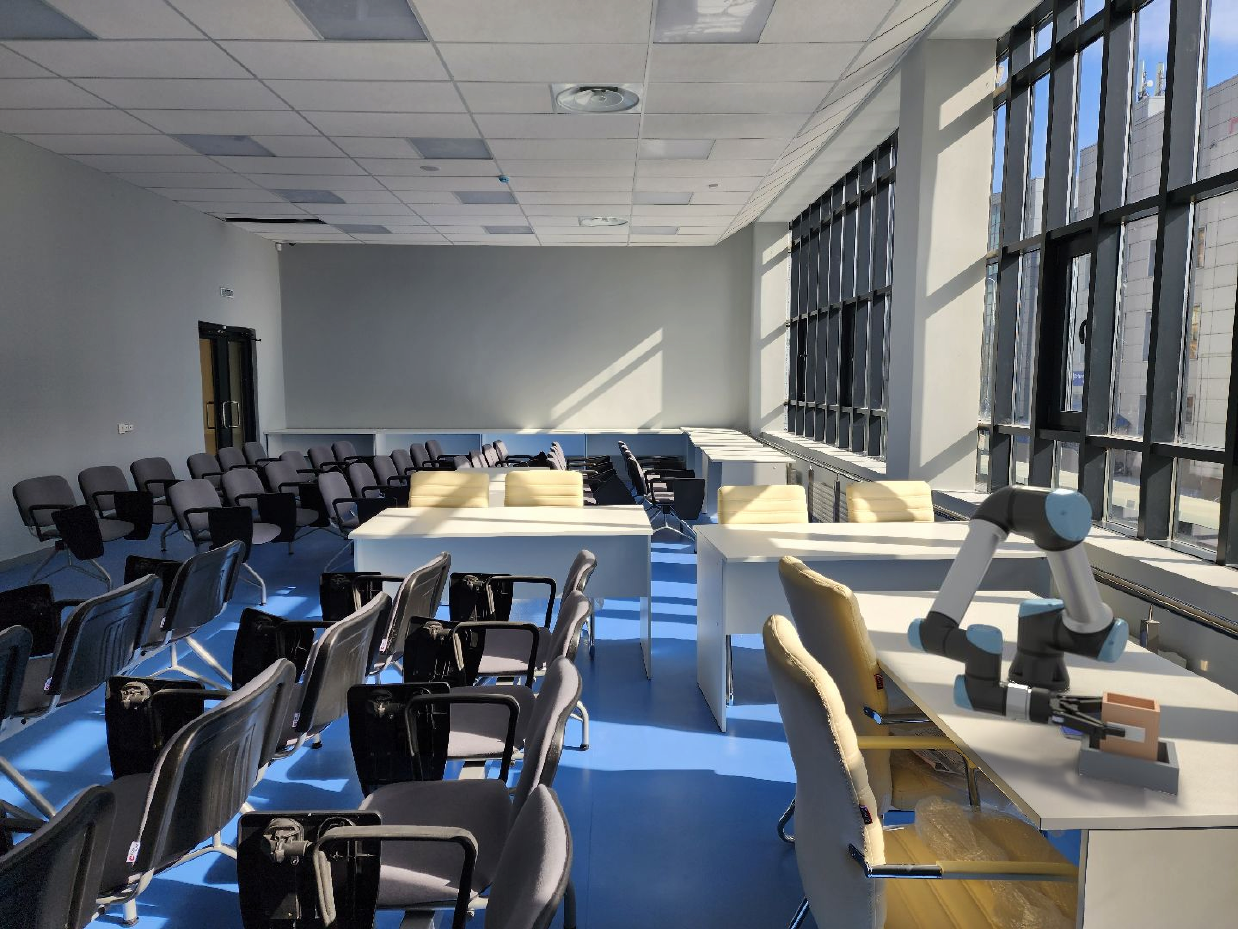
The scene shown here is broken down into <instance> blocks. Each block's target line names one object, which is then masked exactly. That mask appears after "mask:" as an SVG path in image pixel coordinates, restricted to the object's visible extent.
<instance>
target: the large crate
mask: <svg viewBox="0 0 1238 929" xmlns="http://www.w3.org/2000/svg"><path fill="white" fill-rule="evenodd" d="M1099 746H1100V739H1099V738H1096V737H1093V736H1090V735H1087V734H1084V733H1082V736H1081V739H1080V749H1079V763H1078V765H1079V766H1078V775H1080V774H1081V775H1080V776H1084V775H1085V777H1089V776H1090V778H1093V777H1094V779H1098V780H1099V779H1100V780H1103V779H1104V781H1107V780H1108V782H1113V783H1117V784H1122V785H1126V786H1127V785H1128V786H1130V785H1132V786H1131V787H1135V788H1141V789H1144V788H1146V789H1145V790H1150V791H1154V792H1158V791H1161V792H1160V793H1163V792H1166V793H1165V794H1167V793H1169V794H1168V795H1172V794H1174V795H1173V796H1176V795H1177V796H1178V795H1179V794H1178V792H1179V781H1180V779H1179V778H1180V765H1179V760H1178V753H1177V749H1176V742H1175V741H1170V740H1167V739H1160V738H1158V750H1157V761H1152V760H1147V759H1142V758H1137V757H1132V756H1127V755H1122V754H1117V753H1112V752H1107V751H1103V750H1099Z"/></svg>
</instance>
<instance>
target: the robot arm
mask: <svg viewBox="0 0 1238 929" xmlns="http://www.w3.org/2000/svg"><path fill="white" fill-rule="evenodd" d="M1092 517H1093V511H1092V507H1091V504H1090V502H1089V500H1088V499H1087V498H1086V496H1084V495H1083V494H1082V493H1081V492H1079V491H1077V490H1076V491H1075V490H1070V489H1066V488H1063V487H1061V488H1056V487H1055V488H1054V487H1043V486H1035V485H1034V486H1032V485H1025V484H1012V485H1011V484H1009V485H1007V486H1004V487H1001V488H999V489H997V490H996V491H994V492H993V493H991V494H990V495H988V496H987V497H986V498H985V499H984V500H982V502H981V503H980V504H979V505H978V506H977V508H976V509H975V511H973V513H972V515H971V517H970V518H969V521H968V522H967V527H968V529H969V530H968V532H967V534H966V536H965V538H964V541H963V542H962V544H961V547H960V548H959V551H958V552H957V554H956V556H955V558H954V560H953V562H952V565H951V567H950V568H949V570H948V572H947V575H946V576H945V578H944V580H943V582H942V585H941V587H940V589H939V591H938V592H937V595H936V596H935V599H934V601H933V602H932V605H931V607H930V609H929V611H928V612H927V614H926V617H925V618H924V617H917V618H914V620H913V621H911V622H910V624H909V625H908V628H907V633H906V634H907V640H908V643H909V645H910V646H911V647H912V648H914V649H916V650H919V651H921V652H924V653H926V654H932V655H934V656H939V657H942V658H945V659H948V660H951V661H955V662H958V663H961V664H964V673H963V674H961V673H960V674H959V673H958V674H957V675H956V676H955V679H954V685H953V693H952V694H953V696H952V697H953V703H954V705H955V706H956V707H958V708H961V709H965V710H970V711H973V712H976V713H977V712H978V713H985V714H989V715H993V716H1001V717H1006V718H1011V720H1012V721H1016V720H1022V721H1026V720H1027V719H1029V721H1030V722H1031V723H1037V724H1042V725H1048V724H1049V721H1050V718H1052V724H1053V725H1056V726H1059V725H1060V726H1064V727H1067V728H1070V729H1073V730H1076V731H1079V732H1082V733H1084V734H1087V735H1090V736H1093V737H1096V738H1099V739H1102V740H1106V734H1107V736H1111V737H1116V738H1122V739H1127V740H1132V741H1137V742H1143V743H1144V740H1145V728H1140V727H1134V726H1129V725H1123V724H1118V723H1112V722H1107V724H1106V723H1104V722H1101V720H1099V719H1097V718H1094V717H1092V716H1090V715H1087V714H1093V713H1094V714H1095V713H1102V699H1103V695H1101V696H1100V695H1097V696H1095V695H1075V694H1073V695H1072V694H1070V695H1069V694H1062V693H1056V694H1055V698H1053V697H1051V692H1050V691H1058V692H1060V691H1059V690H1065V689H1067V688H1068V687H1069V688H1070V687H1071V686H1070V684H1071V678H1070V675H1069V671H1068V668H1067V665H1066V661H1065V653H1067V654H1072V655H1074V656H1077V657H1082V658H1086V659H1089V660H1092V661H1096V662H1102V663H1107V664H1113V663H1116V662H1117V661H1119V660H1120V658H1121V657H1122V656H1123V653H1124V652H1125V650H1126V647H1127V644H1128V641H1129V632H1130V631H1129V624H1128V622H1127V621H1126V620H1124V619H1121V618H1116V617H1115V616H1114V613H1113V610H1112V608H1111V607H1110V606H1109V604H1107V603H1105V602H1103V600H1102V598H1101V595H1100V592H1099V588H1098V585H1097V582H1096V579H1095V576H1094V573H1093V571H1092V567H1091V564H1090V561H1089V558H1088V555H1087V552H1086V549H1085V546H1084V543H1083V542H1084V541H1085V540H1086V537H1088V535H1089V533H1090V532H1091V529H1092V527H1093V525H1092V524H1093V519H1092ZM1013 532H1016V533H1023V534H1030V535H1031V538H1032V540H1033V542H1034V545H1035V547H1037V548H1038V549H1040V550H1042V551H1044V552H1045V556H1046V559H1047V561H1048V564H1049V568H1050V570H1051V573H1052V576H1053V579H1054V580H1055V585H1056V586H1057V590H1058V592H1059V595H1060V599H1059V598H1058V599H1057V598H1030V599H1029V598H1028V599H1025V600H1023V601H1022V602H1021V603H1020V604H1019V608H1018V613H1017V614H1018V615H1017V635H1016V636H1017V638H1016V651H1015V652H1016V653H1015V654H1014V657H1013V658H1012V661H1011V664H1010V666H1009V669H1008V672H1007V673H1008V674H1007V678H1008V677H1009V679H1010V680H1011V681H1014V682H1015V683H1017V684H1015V683H1013V682H1011V681H1010V680H1009V679H1008V680H1009V681H1010V682H1007V681H1006V682H1005V681H1002V665H1003V662H1002V660H1003V651H1004V646H1003V645H1004V644H1003V632H1002V630H1001V629H1000V628H998V627H997V626H994V625H990V624H982V623H973V624H969V625H968V626H967V628H966V629H967V630H964V629H965V628H960V625H961V624H962V622H963V619H964V618H965V615H966V614H967V611H968V609H969V607H970V606H971V603H972V601H973V599H974V597H975V594H976V593H977V592H978V591H977V590H978V589H979V586H980V585H981V582H982V581H983V578H984V576H985V574H986V573H987V570H988V569H989V566H990V564H991V562H992V560H993V558H994V556H995V554H996V552H997V550H998V547H999V546H1000V544H1001V543H1004V542H1006V541H1008V540H1007V539H1008V537H1009V535H1011V533H1013ZM1029 687H1030V688H1032V689H1029ZM1067 690H1068V689H1067ZM1065 691H1066V690H1065ZM1060 726H1059V727H1060Z"/></svg>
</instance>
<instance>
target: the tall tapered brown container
mask: <svg viewBox="0 0 1238 929" xmlns="http://www.w3.org/2000/svg"><path fill="white" fill-rule="evenodd" d="M1102 696H1103V699H1102V712H1101V714H1100V715H1101V717H1100V721H1101V722H1104V723H1106V724H1107V722H1112V723H1118V724H1123V725H1129V726H1134V727H1140V728H1145V740H1144V743H1143V742H1137V741H1132V740H1127V739H1122V738H1116V737H1111V736H1107V734H1106V740H1102V739H1100V746H1099V750H1103V751H1107V752H1112V753H1117V754H1122V755H1127V756H1132V757H1137V758H1142V759H1147V760H1152V761H1157V750H1158V739H1159V734H1160V733H1159V732H1160V719H1161V717H1160V716H1161V708H1160V703H1159V702H1160V701H1159V699H1156V698H1155V699H1154V698H1147V697H1144V696H1143V697H1142V696H1137V695H1136V696H1135V695H1130V694H1125V693H1118V692H1111V691H1108V690H1107V691H1106V690H1102Z"/></svg>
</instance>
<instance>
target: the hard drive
mask: <svg viewBox="0 0 1238 929" xmlns="http://www.w3.org/2000/svg"><path fill="white" fill-rule="evenodd" d="M1058 726H1059V728H1060V729H1061V731H1063V732H1062V733H1063V735H1064V737H1065V736H1066V737H1065V738H1067V737H1070V738H1069V739H1075V738H1077V739H1076V740H1081V736H1082V732H1079V731H1076V730H1073V729H1070V728H1067V727H1064V726H1060V725H1058Z"/></svg>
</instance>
